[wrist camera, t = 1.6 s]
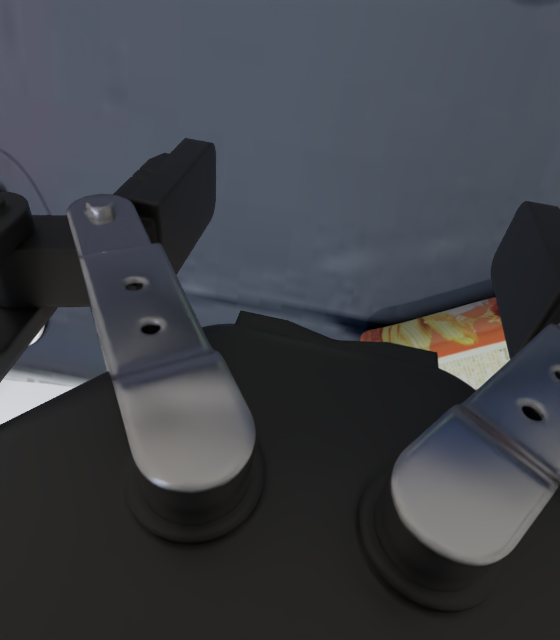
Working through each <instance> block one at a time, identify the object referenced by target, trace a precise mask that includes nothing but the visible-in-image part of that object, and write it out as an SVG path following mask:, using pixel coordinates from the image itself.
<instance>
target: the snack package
mask: <svg viewBox="0 0 560 640" xmlns="http://www.w3.org/2000/svg"><path fill="white" fill-rule="evenodd" d="M360 341H373V342H391V343H395V344H400V345H405V346H409V347H414V348H419V349H423V350H428V351H433V352H437V353H438V366H439V368H440V369H442V370H445V371H447V372H448V373H450V374H452V375H454V376H456V377H458V378H459V379H461V380H462V381H464V382H466V383H467V384H468V385H470V386H471V387H472V388H474V389H475V390H477V389H479V388H480V387H481V386H482V385H483V384H484V383H485V382H486V381H487V380H488V379H490V378H491V377H492V376H493V375H494V374H495V373H496V372H497V371H498V370H499V369H500V368H502V367H503V366H504V365H505V364H506V363H507V362H508V361H509V360H510V358H509V353H508V349H507V345H506V340H505V336H504V331H503V327H502V323H501V318H500V314H499V309H498V305H497V301H496V297H493V298H489V299H485V300H481V301H478V302H474V303H471V304H467V305H464V306H461V307H457V308H454V309H450V310H447V311H443V312H439V313H436V314H432V315H428V316H425V317H421V318H418V319H414V320H411V321H407V322H403V323H399V324H395V325H391V326H387V327H383V328H377V329H372V330H368V331H366V332H364V333H363V334H362V335H361V337H360Z"/></svg>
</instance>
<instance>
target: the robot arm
mask: <svg viewBox="0 0 560 640" xmlns="http://www.w3.org/2000/svg"><path fill="white" fill-rule="evenodd" d="M215 202H216V150H215V146H214V144H213V143H210V142H205V141H199V140H194V139H188V138H185V139H184V140H183V141H182V142H181V143H180V144H179V145H178V146H177V147H176V148H175V149H174V150H173V151H172V152H171V153H170V154H168V153H163V154H161V155H158V156H156V157H153V158H151V159H149V160H148V161H147V162H146V163H145V164H144V165H143V166H142V167H141V168H140V170H138V171H137V172H136V173H134V174H133V177H130V178H129V179H128V180H127V181H126V182H125V183H124V184H123V185H122V186H121V187H120V188H119V189H118V190H117V191H116V192H115V193H114V194H113V195H110V194H98V195H91V196H87V197H83V198H81V199H78V200H76V201H75V202H73V203H72V204H71V205H70V206H69V207H68V209H67V215H65V216H52V215H32V214H31V211H30V208H29V204H28V201H27V200H26V199H25V198H24V197H23V196H21V195H19V194H16V193H11V192H0V382H1V381H2V379H3V378H4V377H5V376H6V374H7V373H8V372H9V370H10V369H11V368H12V366H13V365H14V364H15V363H16V361H17V360H18V359H19V357H20V356H21V355H22V354H23V352H24V351H25V350H26V348H27V347H28V346H29V344H30V343H31V342H32V341H33V339H34V338H35V337H36V335H37V334H38V333H39V331H40V330H41V329H42V328H43V326H44V325H45V324H46V322H47V321H48V320H49V318H50V317H51V316H52V315H53V313H54V312H55V311H56V309H57V307H90V308H91V312H92V316H93V320H94V323H95V327H96V331H97V335H98V339H99V342H100V346H101V350H102V354H103V357H104V361H105V365H106V369H107V372H105V373H103V374H101V375H99V376H97V377H95V378H93V379H91V380H89V381H87V382H85V383H83V384H81V385H79V386H77V387H75V388H73V389H72V390H69V391H67V392H65V393H63V394H61V395H59V396H57V397H55V398H53V399H51V400H49V401H47V402H45V403H43V404H41V405H39V406H37V407H35V408H33V409H31V410H29V411H27V412H25V413H23V414H21V415H19V416H17V417H15V418H13V419H11V420H9V421H7V422H5V423H3V424H1V425H0V640H560V209H559V208H558V207H557V206H551V205H546V204H540V203H535V202H529V201H525V202H523V203H522V204H521V205H520V207H519V208H518V210H517V212H516V214H515V216H514V218H513V220H512V222H511V224H510V226H509V228H508V230H507V231H506V233H505V235H504V237H503V239H502V241H501V243H500V245H499V247H498V249H497V251H496V253H495V256H494V258H493V262H492V266H491V279H492V283H493V287H494V292H495V296H496V301H497V305H498V309H499V314H500V318H501V323H502V327H503V331H504V336H505V340H506V345H507V349H508V353H509V358H510V360H509V361H508V362H507V363H506V364H505V365H504V366H503V367H502V368H500V369H499V370H498V371H497V372H496V373H495V374H494V375H493V376H492V377H491V378H490V379H488V380H487V381H486V382H485V383H484V384H483V385H482V386H481V387H480V388H479V389H477V390H475V389H474V388H472V387H471V386H470V385H468V384H467V383H466V382H464V381H462V380H461V379H459V378H458V377H456V376H454V375H452V374H450V373H448V372H447V371H445V370H442V369H440V368H439V366H438V353H437V352H433V351H428V350H423V349H419V348H414V347H409V346H405V345H400V344H395V343H391V342H373V341H340V340H334V339H331V338H329V337H326V336H324V335H321V334H319V333H317V332H314V331H312V330H309V329H307V328H305V327H302V326H300V325H297V324H295V323H292V322H290V321H288V320H283V319H278V318H274V317H269V316H264V315H260V314H255V313H250V312H245V311H240V313H239V316H238V318H237V321H236V323H235V324H217V325H211V326H205V327H201V325H200V323H199V321H198V319H197V317H196V315H195V313H194V311H193V309H192V307H191V305H190V303H189V301H188V299H187V297H186V295H185V292H184V290H183V288H182V286H181V284H180V282H179V280H178V278H177V276H176V275H177V273H178V271H179V270H180V268H181V267H182V265H183V264H184V262H185V260H186V259H187V257H188V256H189V254H190V252H191V251H192V249H193V248H194V246H195V244H196V243H197V241H198V240H199V238H200V237H201V235H202V233H203V232H204V230H205V229H206V227H207V225H208V224H209V222H210V221H211V219H212V216H213V213H214V209H215Z"/></svg>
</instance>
